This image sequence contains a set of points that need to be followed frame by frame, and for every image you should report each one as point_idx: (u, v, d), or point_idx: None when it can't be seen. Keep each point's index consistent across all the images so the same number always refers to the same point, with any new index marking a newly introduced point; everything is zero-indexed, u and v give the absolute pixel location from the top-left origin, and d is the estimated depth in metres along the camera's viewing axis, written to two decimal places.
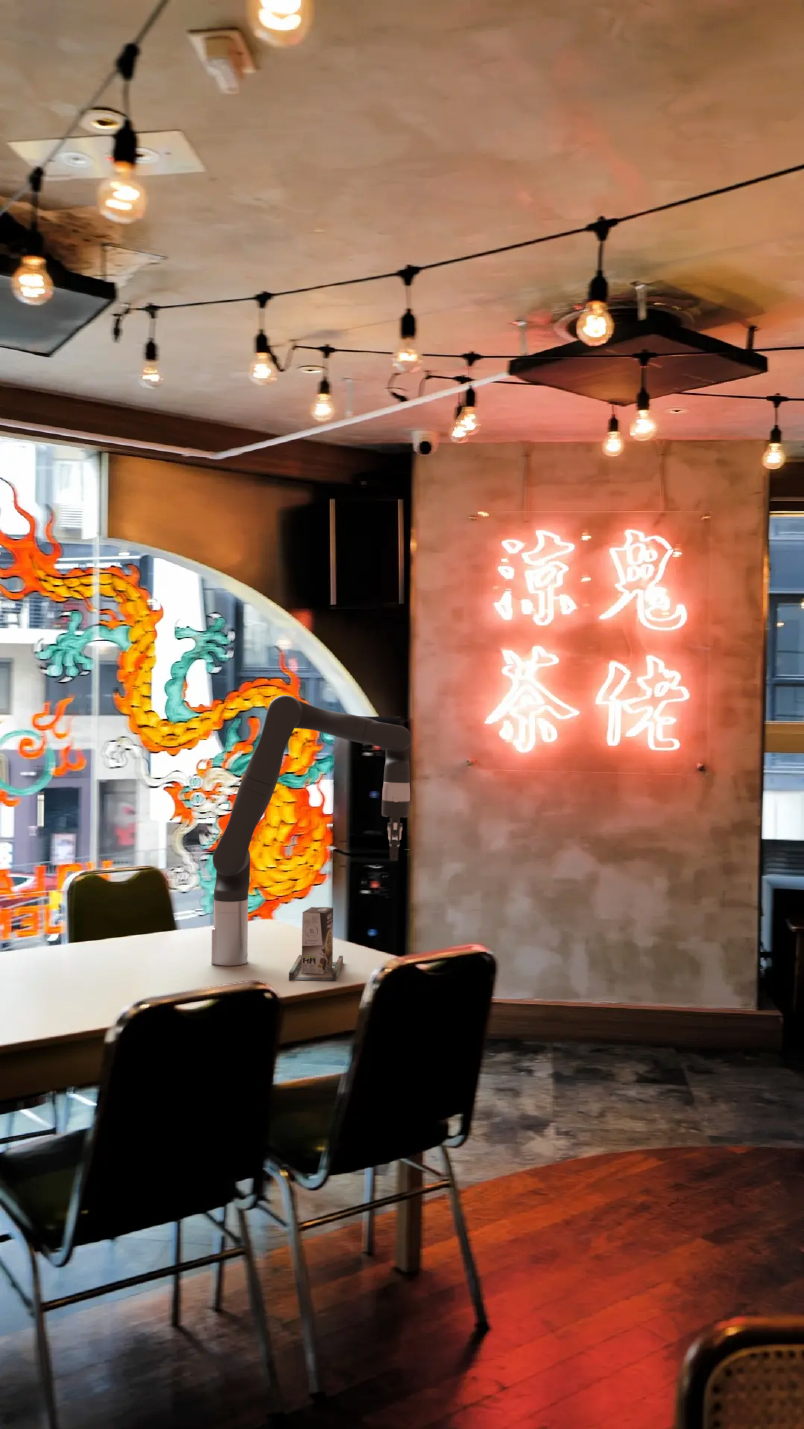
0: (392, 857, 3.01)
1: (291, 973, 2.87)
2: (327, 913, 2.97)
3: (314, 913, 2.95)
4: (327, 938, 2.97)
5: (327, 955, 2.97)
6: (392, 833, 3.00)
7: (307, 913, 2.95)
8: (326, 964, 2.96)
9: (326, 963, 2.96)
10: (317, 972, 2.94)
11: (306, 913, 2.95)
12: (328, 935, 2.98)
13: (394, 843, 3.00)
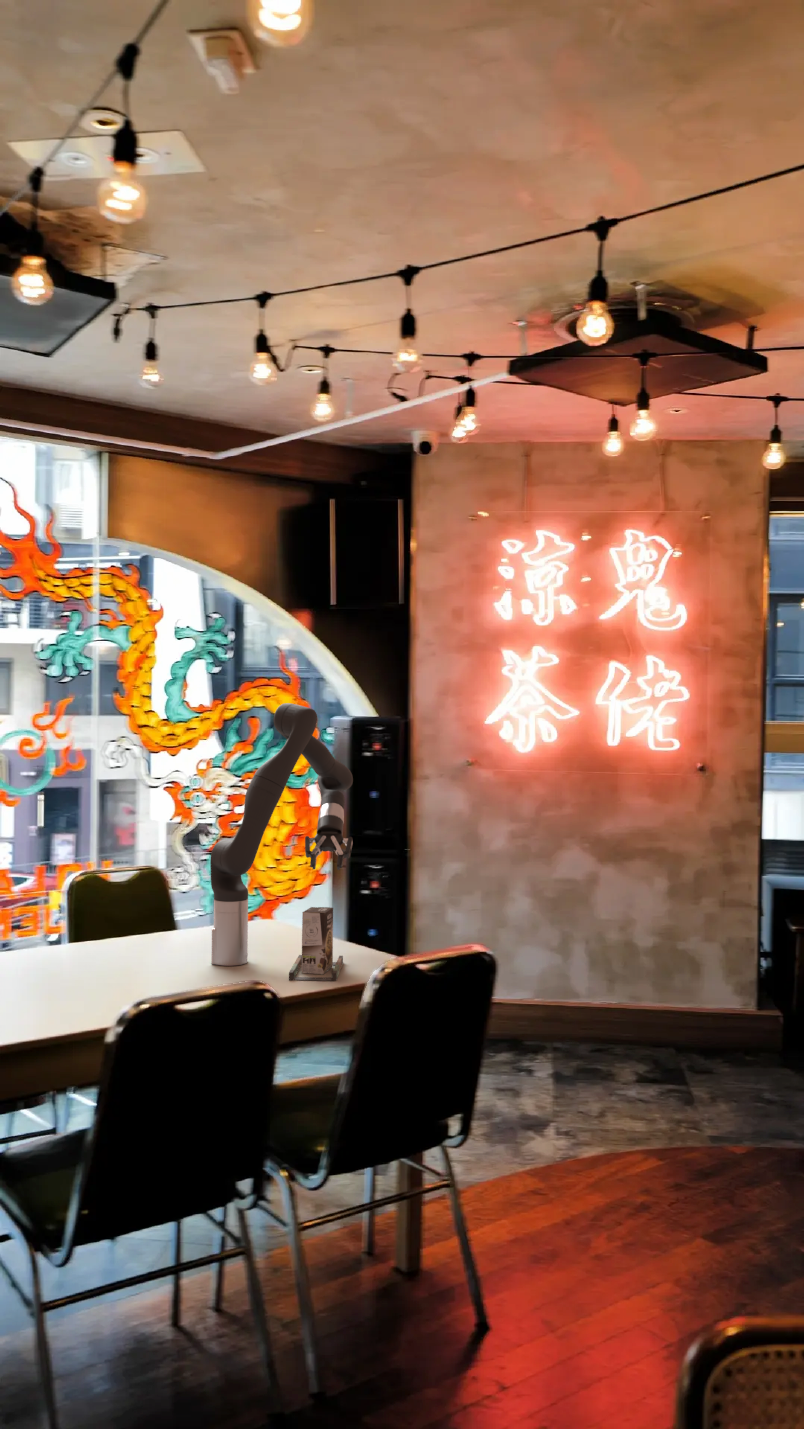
0: (341, 864, 3.20)
1: (291, 973, 2.87)
2: (327, 913, 2.97)
3: (314, 913, 2.95)
4: (327, 938, 2.97)
5: (327, 955, 2.97)
6: (351, 846, 3.24)
7: (307, 913, 2.95)
8: (326, 964, 2.96)
9: (326, 963, 2.96)
10: (317, 972, 2.94)
11: (306, 913, 2.95)
12: (328, 935, 2.98)
13: (349, 854, 3.23)
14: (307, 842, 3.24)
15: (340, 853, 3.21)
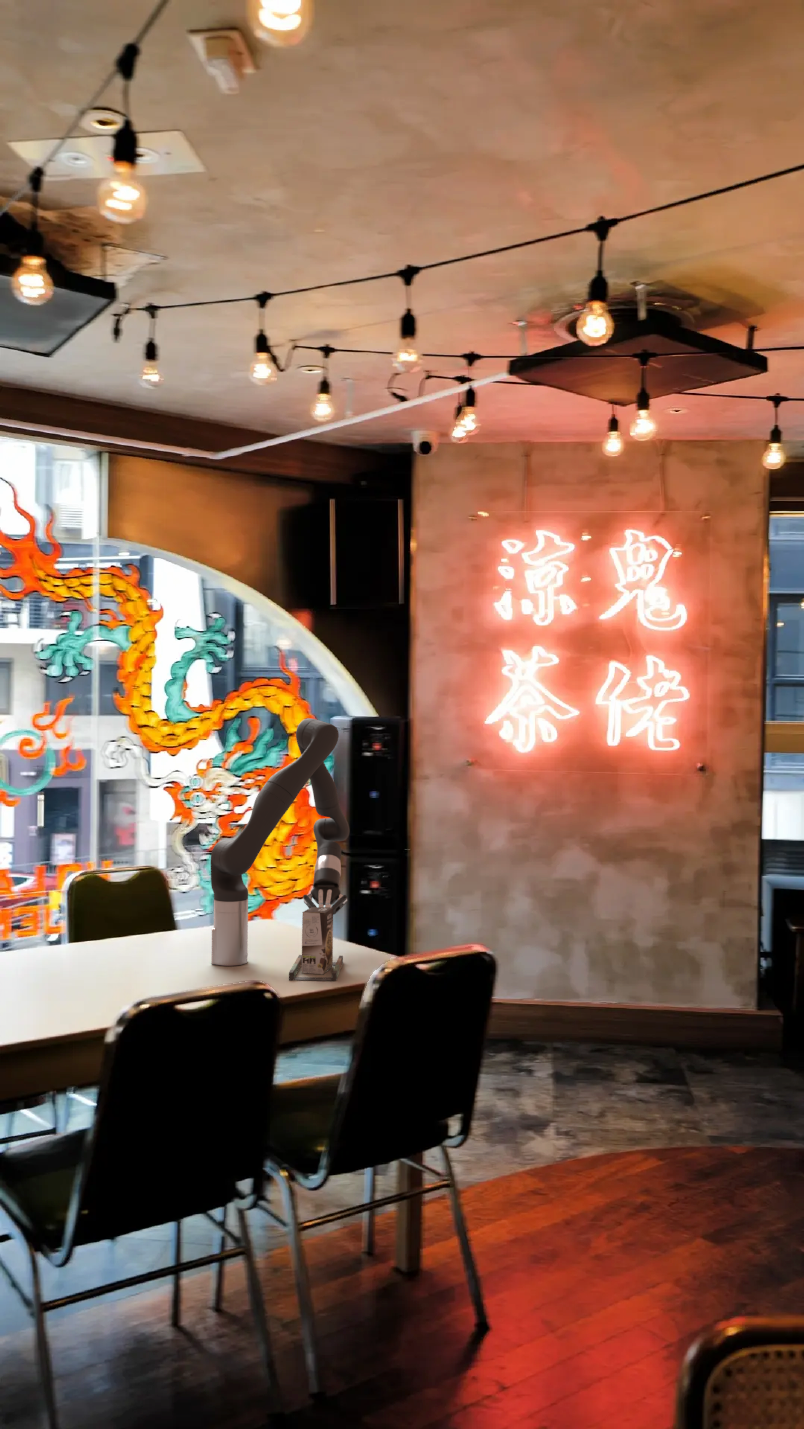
0: None
1: (291, 973, 2.87)
2: (327, 913, 2.97)
3: (314, 913, 2.95)
4: (327, 938, 2.97)
5: (327, 955, 2.97)
6: (340, 904, 3.16)
7: (307, 913, 2.95)
8: (326, 964, 2.96)
9: (326, 963, 2.96)
10: (317, 972, 2.94)
11: (306, 913, 2.95)
12: (328, 935, 2.98)
13: (335, 910, 3.15)
14: (308, 900, 3.17)
15: None
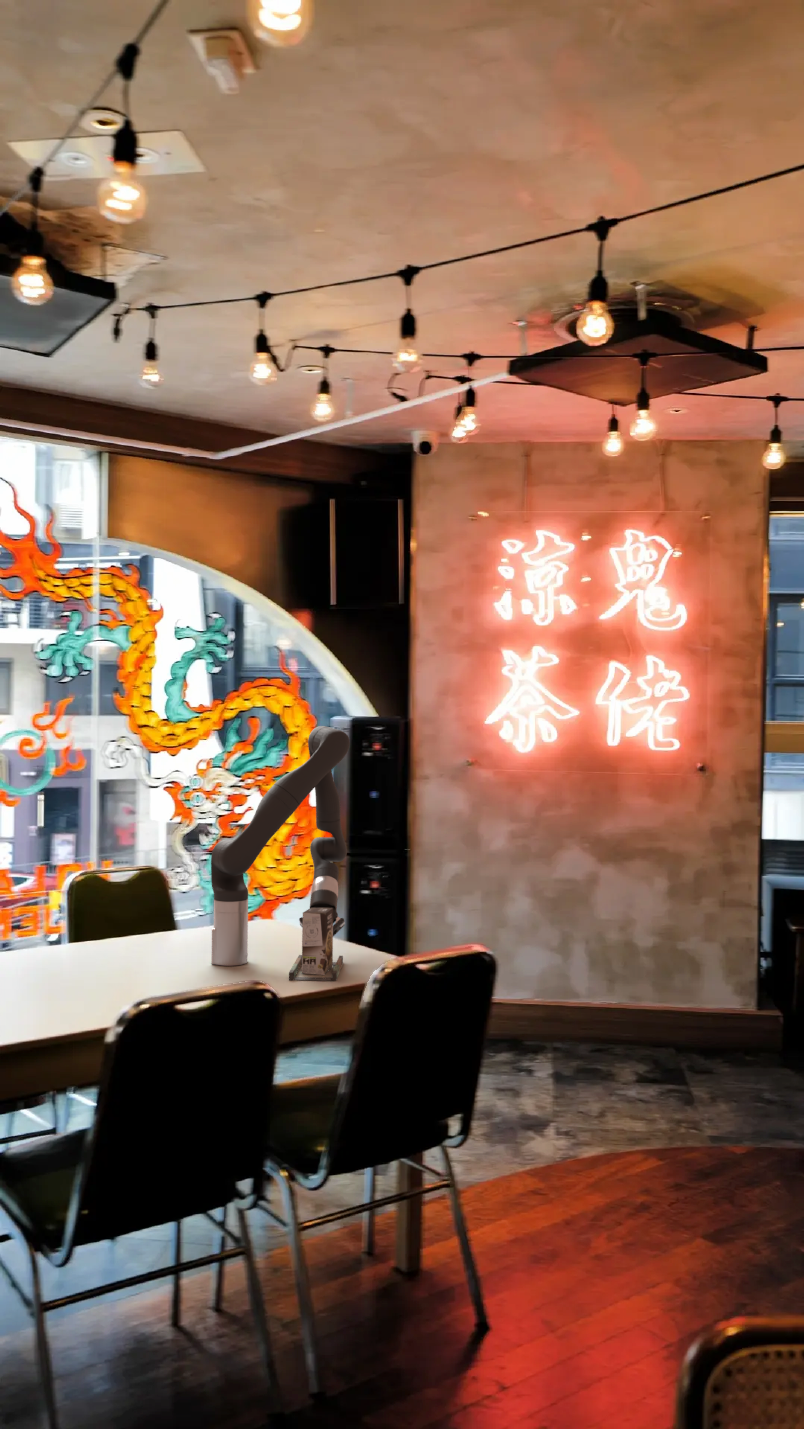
0: None
1: (291, 973, 2.87)
2: (327, 913, 2.96)
3: (314, 913, 2.94)
4: (328, 939, 2.96)
5: (327, 956, 2.96)
6: (338, 927, 3.08)
7: (307, 913, 2.94)
8: (326, 965, 2.96)
9: (326, 964, 2.96)
10: (317, 973, 2.94)
11: (306, 913, 2.94)
12: (328, 935, 2.97)
13: None
14: None
15: None
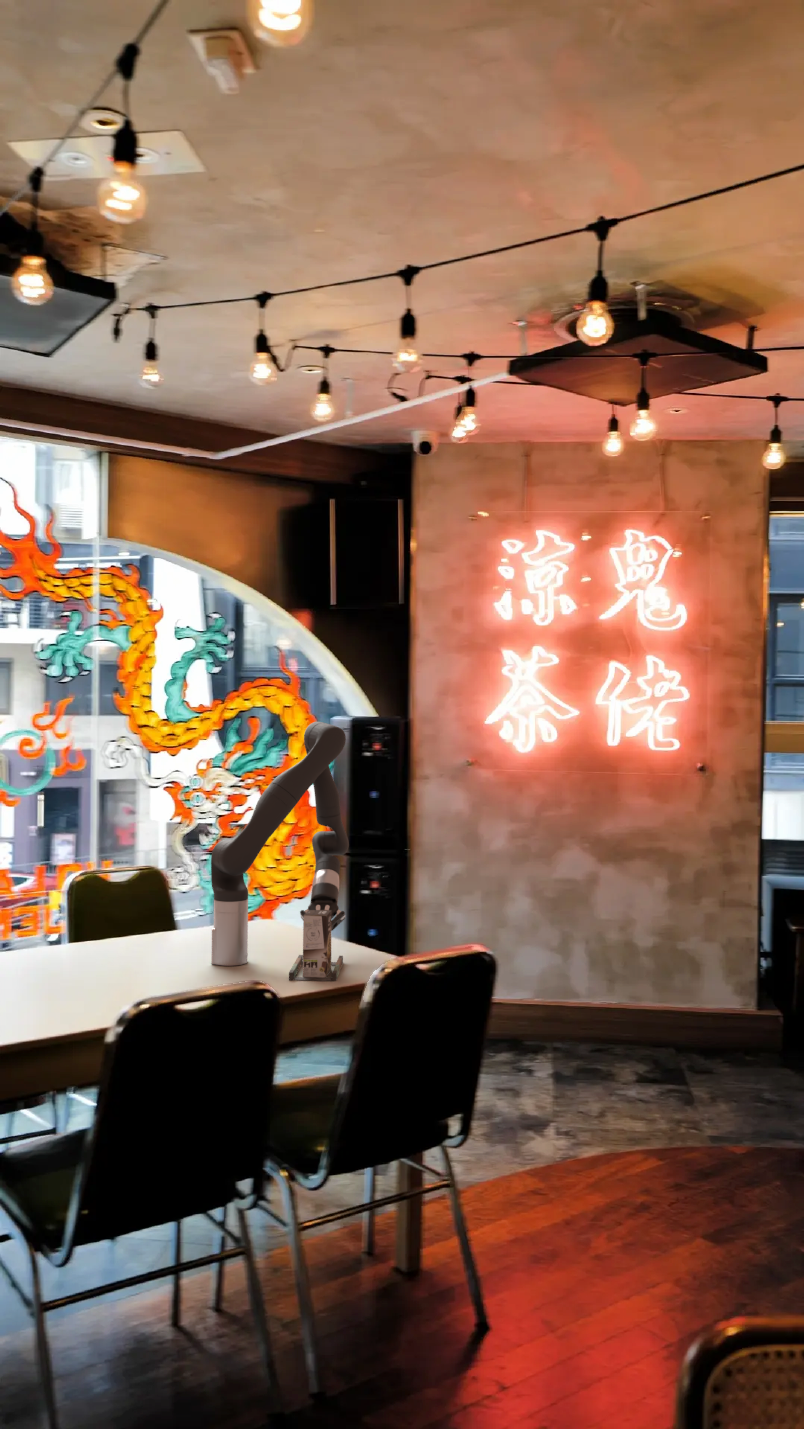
0: None
1: (291, 973, 2.87)
2: (328, 916, 2.93)
3: (316, 916, 2.91)
4: (328, 941, 2.93)
5: (328, 958, 2.93)
6: (338, 920, 3.09)
7: (308, 916, 2.91)
8: (327, 967, 2.92)
9: (327, 966, 2.92)
10: (319, 976, 2.90)
11: (307, 916, 2.91)
12: (329, 938, 2.94)
13: (332, 926, 3.08)
14: None
15: None
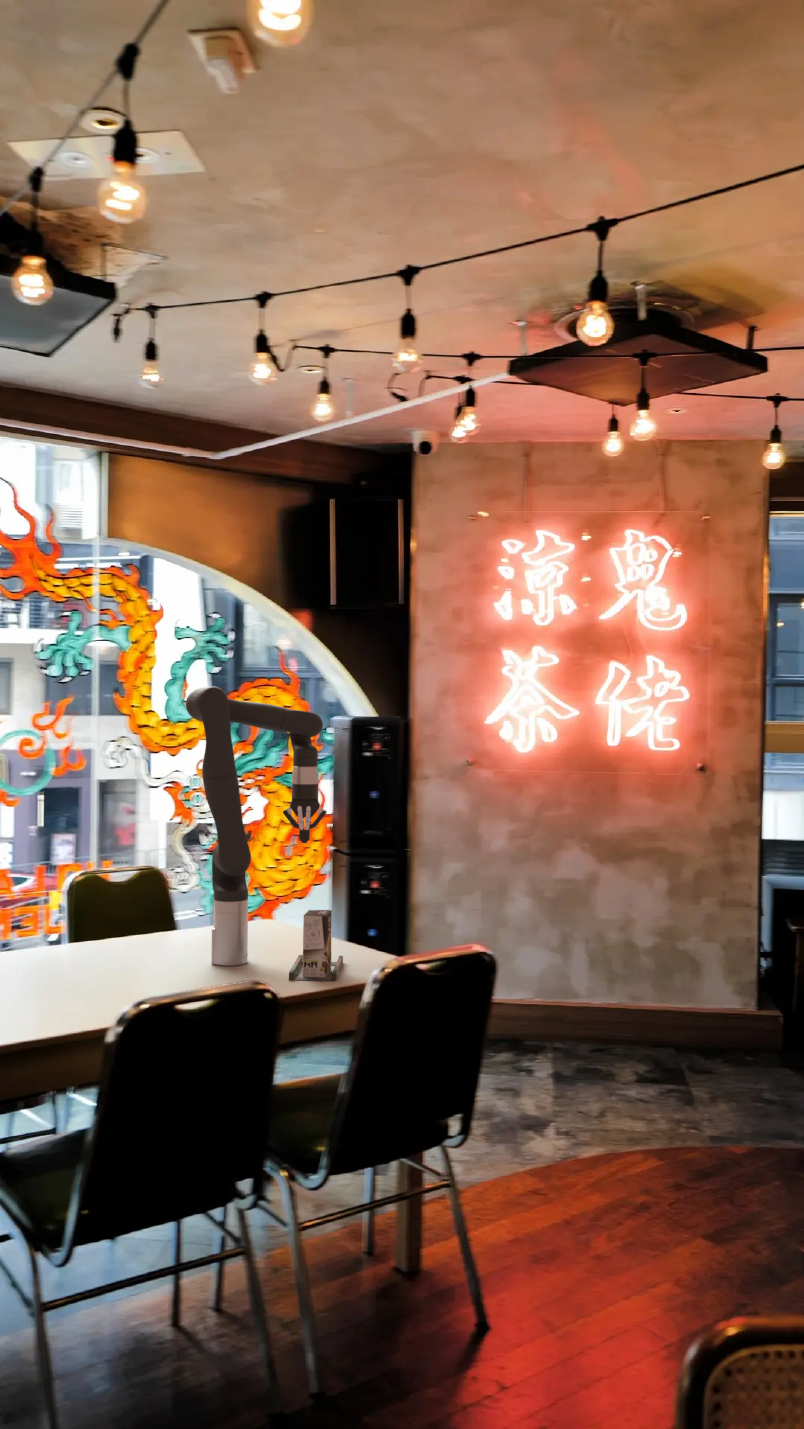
0: (308, 839, 3.22)
1: (291, 973, 2.87)
2: (328, 916, 2.93)
3: (316, 916, 2.91)
4: (328, 941, 2.93)
5: (328, 958, 2.93)
6: (320, 820, 3.22)
7: (308, 916, 2.91)
8: (327, 967, 2.92)
9: (327, 966, 2.92)
10: (319, 976, 2.90)
11: (307, 916, 2.91)
12: (329, 938, 2.94)
13: (315, 826, 3.22)
14: (288, 817, 3.21)
15: (306, 828, 3.21)
